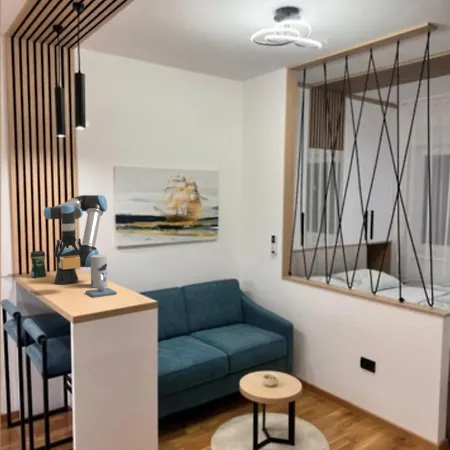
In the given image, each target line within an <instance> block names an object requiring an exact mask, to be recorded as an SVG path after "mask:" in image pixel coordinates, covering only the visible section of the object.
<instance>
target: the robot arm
mask: <svg viewBox="0 0 450 450" xmlns="http://www.w3.org/2000/svg"><path fill="white" fill-rule="evenodd" d="M107 211H108V201H107V199H106V197H105V196H104V195H102V194H101V195H100V194H93V195H92V194H87V195H86V194H82V195H77V196H74V197H72V198H70V199H68V201H65V202H63V203H60V204H58V205H55V206H48V207H47V206H46V207H45V208H44V210H43V216H44V218H45V219H46V220H61V239H56V246H55V249H54V253H53V257H56V260H55V261H56V272H55V273H56V274H55V276H54V284H55V285H72V284H73V285H74V284H77V283H79V277H78V273H77V271H76V268H72V269H62V262H61V257H65V256H77V257H79V258H80V268H91V256H93V255H100V254H99V251H98V250H97V247H96V243H97V242H96V241H97V237H98V230H99V226H100V220H101V217H102V216H103V215H104V212H107ZM83 212H86V214H87V215H86V221H85V227H84V231H83V236H82V239H81V238H79V237H78V238H76V231H75V229H76V224H75V223H76V222H75V220H78V219H80V218H82V217H83ZM81 240H82V241H81ZM76 242H77V245H76V244H75V243H76ZM61 243H62V245H61ZM60 245H61V247H60ZM68 246H70V247H68ZM77 246H78V247H77Z"/></svg>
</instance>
